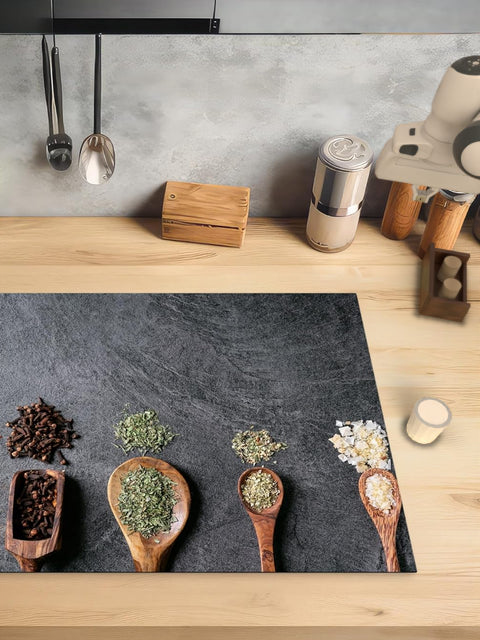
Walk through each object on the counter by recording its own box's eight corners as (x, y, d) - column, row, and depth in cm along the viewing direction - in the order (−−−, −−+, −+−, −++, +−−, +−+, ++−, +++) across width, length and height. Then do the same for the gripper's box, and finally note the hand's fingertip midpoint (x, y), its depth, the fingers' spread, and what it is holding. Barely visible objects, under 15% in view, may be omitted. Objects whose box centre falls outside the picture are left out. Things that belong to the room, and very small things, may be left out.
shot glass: (442, 447, 140) (455, 428, 134) (406, 445, 140) (417, 427, 135) (435, 416, 144) (448, 397, 138) (400, 415, 144) (411, 395, 139)
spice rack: (461, 269, 167) (472, 249, 161) (461, 322, 158) (473, 302, 152) (421, 262, 168) (430, 241, 163) (418, 314, 159) (428, 294, 154)
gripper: (502, 140, 134) (473, 198, 145) (388, 123, 138) (368, 181, 149) (503, 162, 131) (473, 219, 142) (385, 143, 134) (366, 201, 145)
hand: (419, 199), depth 145 cm, fingers closed
